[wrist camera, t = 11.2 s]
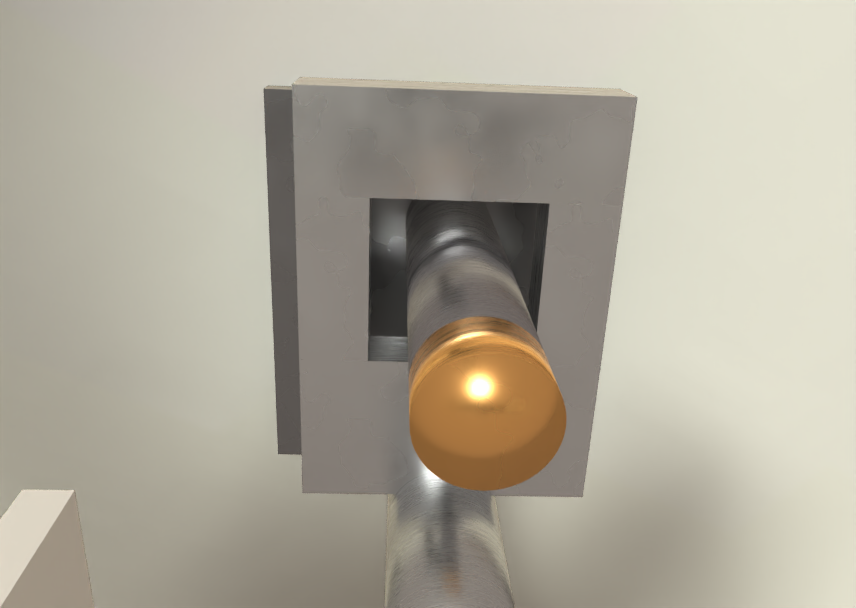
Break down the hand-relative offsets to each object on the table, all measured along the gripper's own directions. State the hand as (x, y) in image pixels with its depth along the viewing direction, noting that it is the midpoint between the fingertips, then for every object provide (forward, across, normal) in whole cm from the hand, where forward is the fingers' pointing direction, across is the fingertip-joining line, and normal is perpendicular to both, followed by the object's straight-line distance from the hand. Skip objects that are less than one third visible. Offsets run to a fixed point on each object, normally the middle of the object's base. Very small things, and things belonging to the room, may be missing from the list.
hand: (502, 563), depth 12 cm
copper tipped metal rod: (+20, 0, -1) cm, 20 cm away
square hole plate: (+21, 0, -4) cm, 21 cm away
